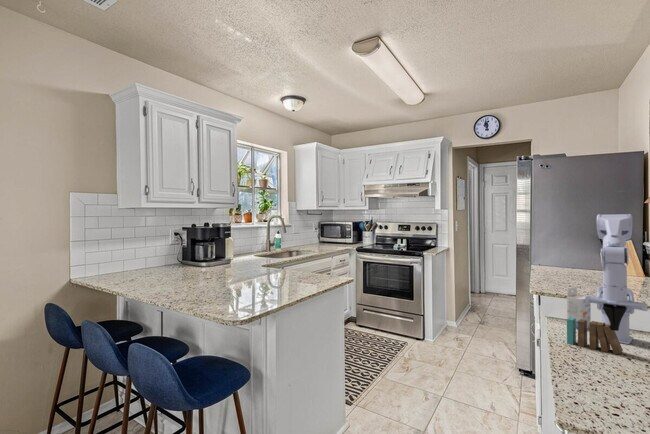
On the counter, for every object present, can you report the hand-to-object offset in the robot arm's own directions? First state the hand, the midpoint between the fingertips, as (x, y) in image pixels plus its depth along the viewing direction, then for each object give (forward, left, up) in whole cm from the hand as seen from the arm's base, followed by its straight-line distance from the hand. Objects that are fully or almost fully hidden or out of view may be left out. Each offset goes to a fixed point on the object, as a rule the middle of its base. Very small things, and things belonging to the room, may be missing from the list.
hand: (615, 329), depth 104 cm
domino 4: (0, -2, -7) cm, 7 cm away
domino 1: (0, -11, -7) cm, 13 cm away
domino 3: (0, -5, -7) cm, 9 cm away
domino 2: (0, -8, -7) cm, 11 cm away
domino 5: (0, +1, -7) cm, 7 cm away
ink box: (-24, -14, -7) cm, 29 cm away
